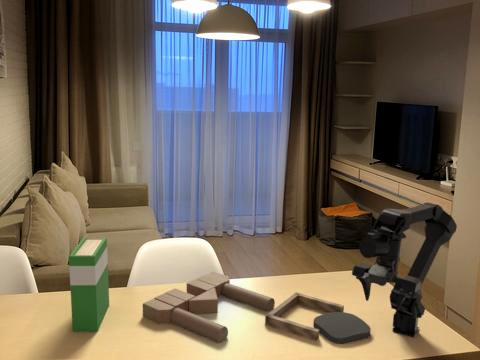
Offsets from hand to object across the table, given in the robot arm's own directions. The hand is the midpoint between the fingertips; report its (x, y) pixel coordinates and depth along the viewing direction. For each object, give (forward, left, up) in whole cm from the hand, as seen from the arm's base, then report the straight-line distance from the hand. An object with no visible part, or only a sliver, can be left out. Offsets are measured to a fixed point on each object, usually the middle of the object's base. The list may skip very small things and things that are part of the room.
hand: (382, 305), depth 146 cm
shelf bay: (+23, 0, -12) cm, 26 cm away
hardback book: (+80, +38, -12) cm, 90 cm away
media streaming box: (+12, 0, -12) cm, 17 cm away
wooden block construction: (+52, +12, -13) cm, 55 cm away
